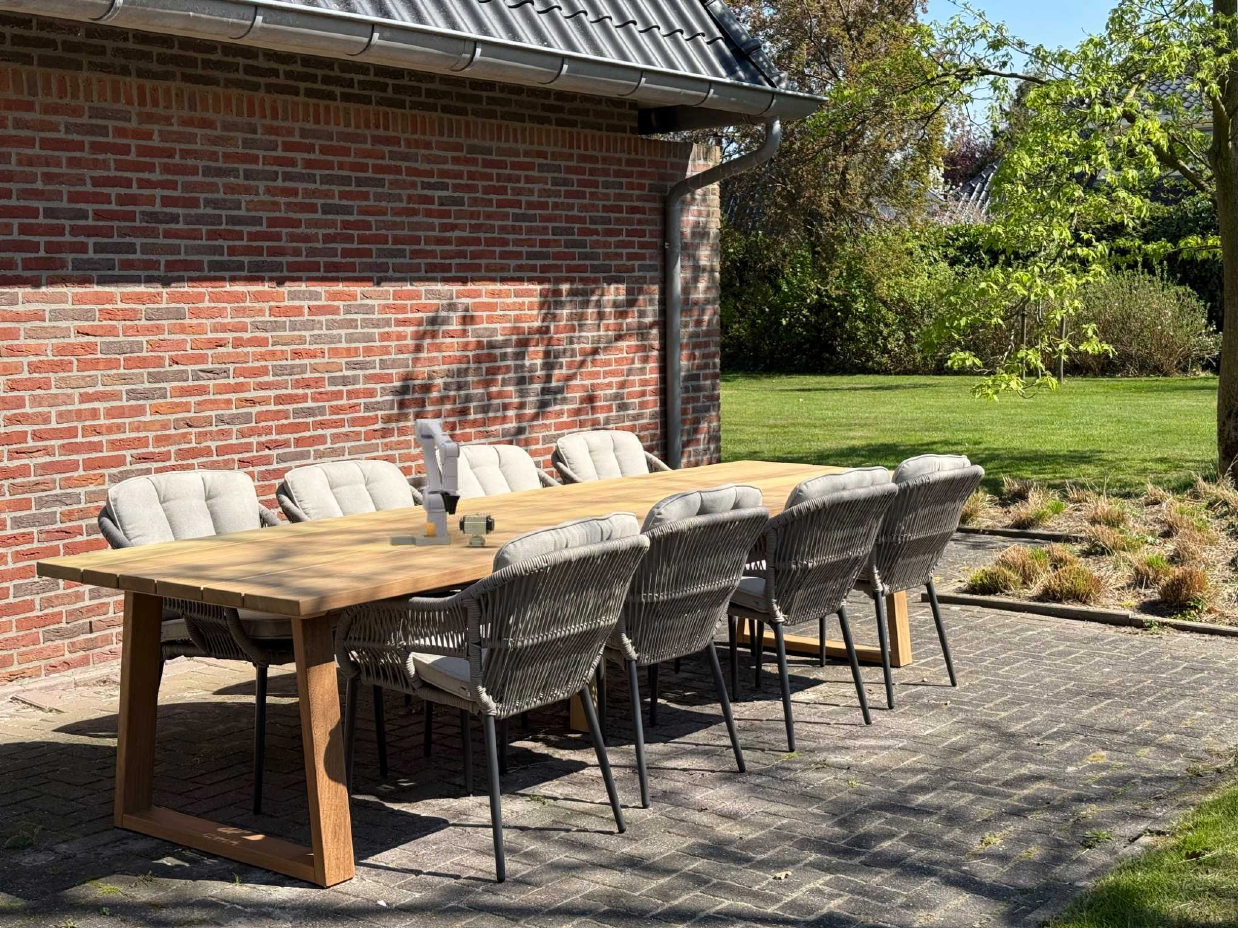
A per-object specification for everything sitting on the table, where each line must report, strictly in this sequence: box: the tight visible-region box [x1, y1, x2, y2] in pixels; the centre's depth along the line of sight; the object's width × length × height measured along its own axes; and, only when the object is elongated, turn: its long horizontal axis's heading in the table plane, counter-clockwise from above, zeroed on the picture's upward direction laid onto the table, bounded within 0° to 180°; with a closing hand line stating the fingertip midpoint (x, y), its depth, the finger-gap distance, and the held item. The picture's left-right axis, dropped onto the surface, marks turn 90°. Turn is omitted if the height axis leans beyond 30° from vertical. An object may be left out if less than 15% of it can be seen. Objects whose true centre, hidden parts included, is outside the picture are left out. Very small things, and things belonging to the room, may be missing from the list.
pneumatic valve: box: [458, 512, 496, 548], centre depth 522 cm, size 6×12×12 cm, turn 82°
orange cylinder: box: [425, 522, 435, 537], centre depth 533 cm, size 3×3×7 cm
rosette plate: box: [389, 533, 451, 547], centre depth 532 cm, size 12×20×2 cm, turn 107°
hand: (450, 513), depth 538 cm, fingers open, 7 cm apart
